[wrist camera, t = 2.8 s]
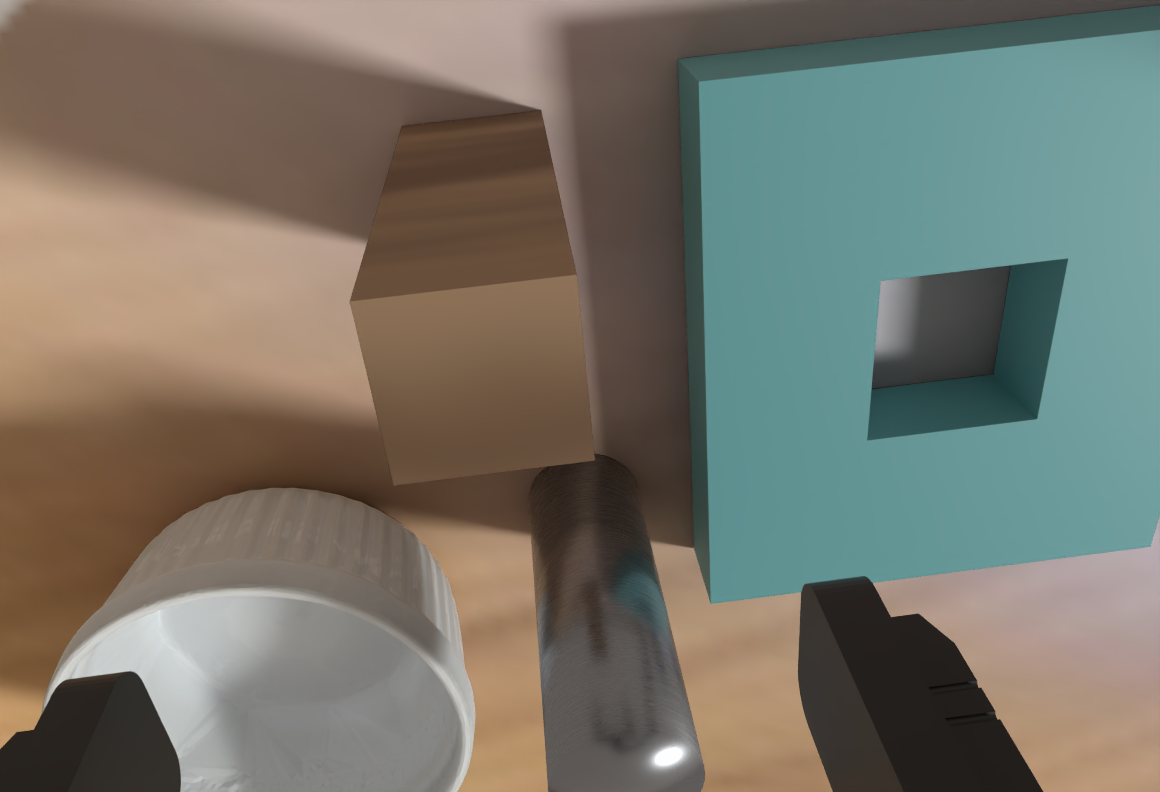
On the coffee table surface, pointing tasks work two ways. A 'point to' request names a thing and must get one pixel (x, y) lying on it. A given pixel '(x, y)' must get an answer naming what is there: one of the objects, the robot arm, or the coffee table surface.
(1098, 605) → the coffee table surface
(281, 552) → the ramekin
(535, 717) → the coffee table surface
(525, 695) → the coffee table surface
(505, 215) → the square peg
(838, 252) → the socket block
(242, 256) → the coffee table surface
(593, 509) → the round peg
